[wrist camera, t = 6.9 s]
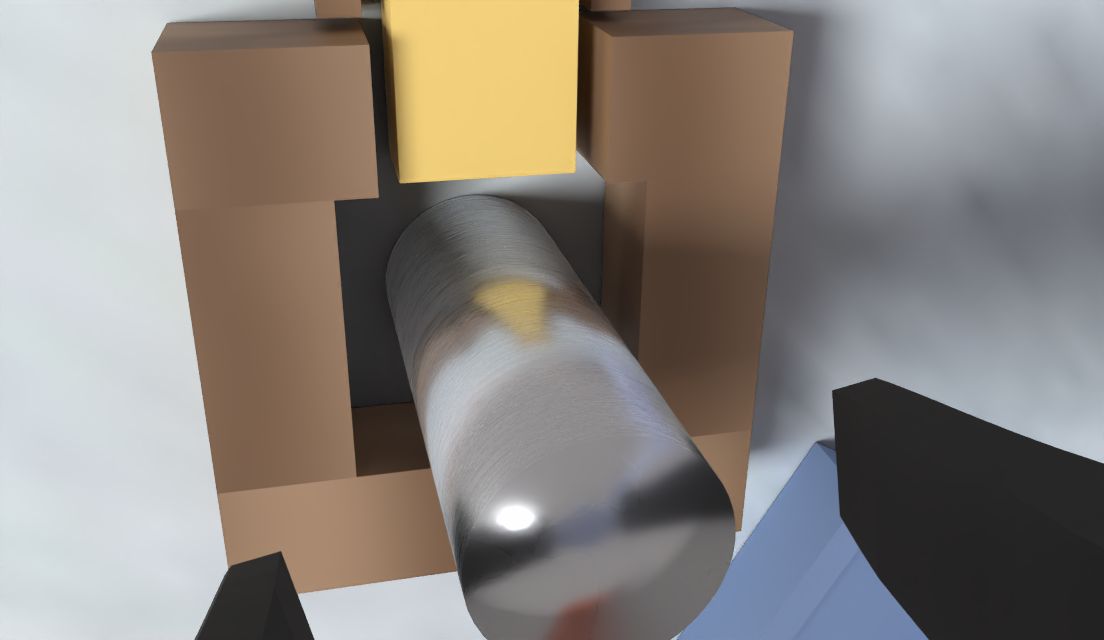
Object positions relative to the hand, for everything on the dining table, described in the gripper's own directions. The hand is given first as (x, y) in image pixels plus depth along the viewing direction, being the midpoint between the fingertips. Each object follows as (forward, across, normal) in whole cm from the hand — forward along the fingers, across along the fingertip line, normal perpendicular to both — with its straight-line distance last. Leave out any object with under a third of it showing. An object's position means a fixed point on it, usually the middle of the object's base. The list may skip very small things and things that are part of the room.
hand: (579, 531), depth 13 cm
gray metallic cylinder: (+8, 0, 0) cm, 8 cm away
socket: (+8, -1, -2) cm, 9 cm away
